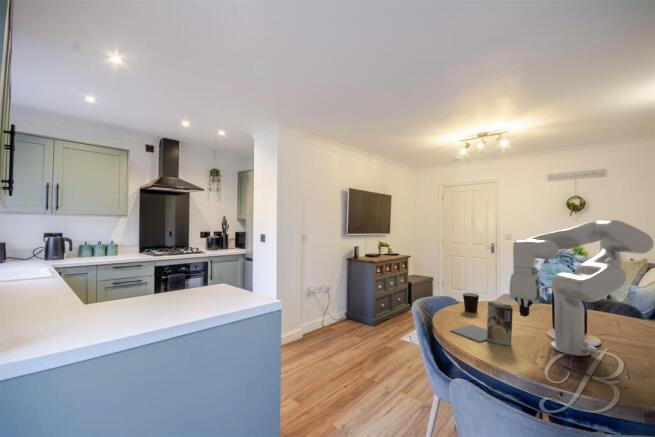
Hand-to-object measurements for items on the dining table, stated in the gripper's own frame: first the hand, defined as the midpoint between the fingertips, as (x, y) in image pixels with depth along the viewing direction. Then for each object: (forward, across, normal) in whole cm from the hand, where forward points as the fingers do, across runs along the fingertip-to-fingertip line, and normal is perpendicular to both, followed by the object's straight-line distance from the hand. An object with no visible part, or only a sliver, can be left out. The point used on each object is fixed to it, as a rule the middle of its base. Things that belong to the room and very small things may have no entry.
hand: (524, 315), depth 121 cm
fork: (+15, -21, +1) cm, 26 cm away
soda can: (+15, +23, -18) cm, 33 cm away
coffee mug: (+15, +45, -28) cm, 55 cm away
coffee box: (+14, +11, 0) cm, 18 cm away
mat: (+15, +22, 0) cm, 26 cm away
